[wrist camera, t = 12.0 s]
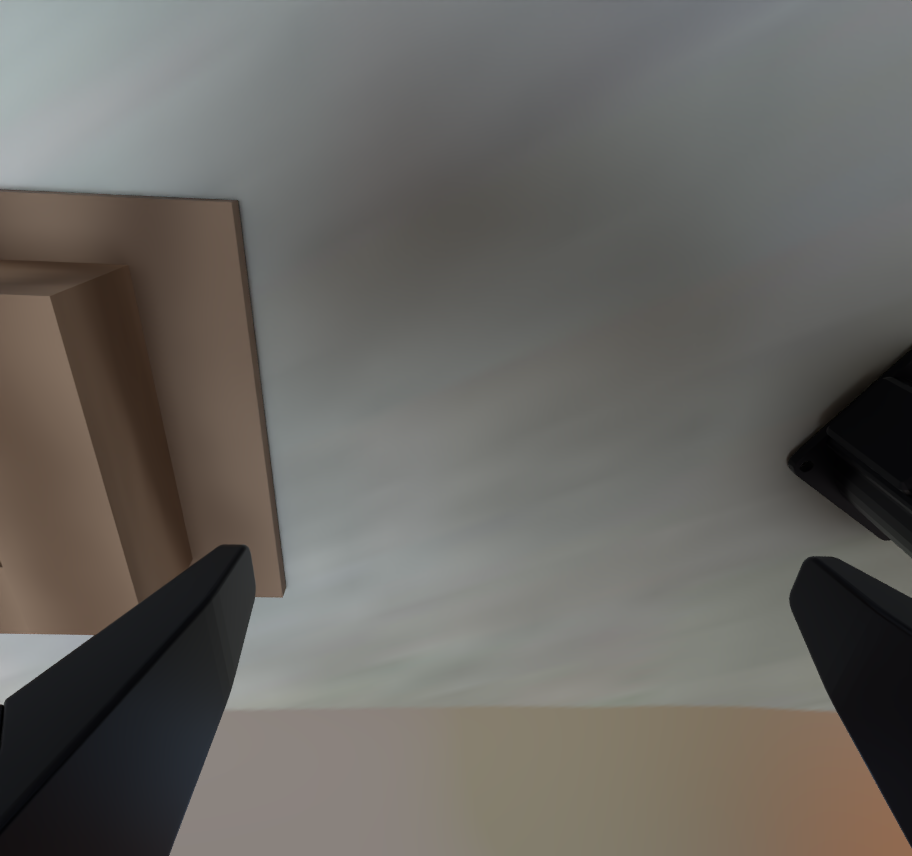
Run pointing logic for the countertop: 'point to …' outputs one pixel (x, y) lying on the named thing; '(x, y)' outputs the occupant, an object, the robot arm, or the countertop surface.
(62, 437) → the brown stepped stand
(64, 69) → the countertop surface
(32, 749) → the robot arm
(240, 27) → the countertop surface
